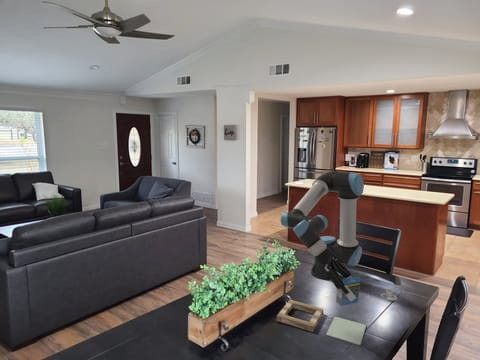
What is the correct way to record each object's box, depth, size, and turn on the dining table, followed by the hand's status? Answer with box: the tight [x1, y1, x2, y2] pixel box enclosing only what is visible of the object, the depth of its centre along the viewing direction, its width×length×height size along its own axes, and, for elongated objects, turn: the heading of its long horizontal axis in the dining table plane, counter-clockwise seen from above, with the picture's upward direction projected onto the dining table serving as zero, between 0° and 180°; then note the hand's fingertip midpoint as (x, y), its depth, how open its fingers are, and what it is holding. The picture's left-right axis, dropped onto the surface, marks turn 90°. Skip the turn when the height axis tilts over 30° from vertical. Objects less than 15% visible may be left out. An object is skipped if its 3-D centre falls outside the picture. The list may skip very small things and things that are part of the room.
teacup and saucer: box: [380, 288, 398, 302], centre depth 178 cm, size 9×8×4 cm
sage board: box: [325, 316, 367, 346], centre depth 148 cm, size 16×14×1 cm
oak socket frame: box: [276, 299, 325, 333], centre depth 157 cm, size 17×17×2 cm
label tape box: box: [335, 276, 361, 307], centre depth 145 cm, size 9×4×12 cm, turn 111°
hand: (355, 294), depth 144 cm, fingers closed on label tape box, 9 cm apart
